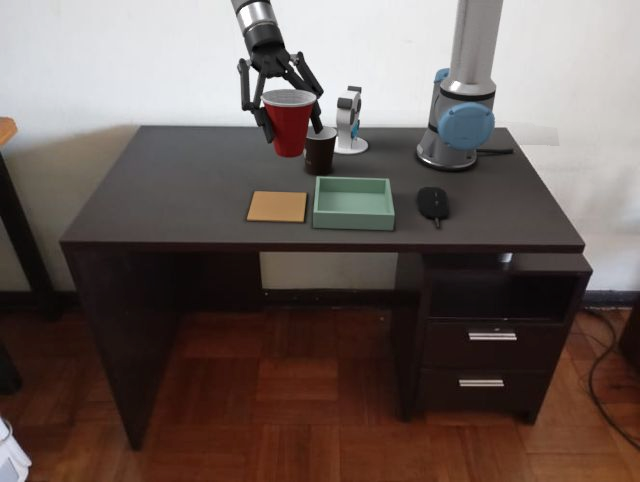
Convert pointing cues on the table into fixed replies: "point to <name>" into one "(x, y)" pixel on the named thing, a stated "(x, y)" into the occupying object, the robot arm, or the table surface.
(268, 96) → the plastic cup
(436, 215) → the gaming mouse
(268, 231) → the table surface
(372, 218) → the tray
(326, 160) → the coffee mug
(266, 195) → the cork mat
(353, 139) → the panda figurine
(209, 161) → the table surface
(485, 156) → the table surface
